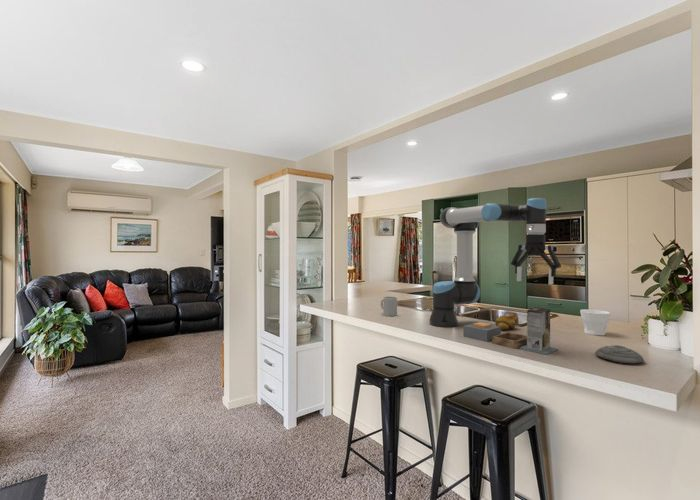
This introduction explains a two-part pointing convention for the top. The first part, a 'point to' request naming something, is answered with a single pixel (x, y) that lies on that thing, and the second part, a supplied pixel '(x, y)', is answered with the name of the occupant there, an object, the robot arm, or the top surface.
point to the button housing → (481, 332)
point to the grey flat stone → (619, 354)
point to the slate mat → (546, 352)
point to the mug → (389, 306)
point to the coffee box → (538, 329)
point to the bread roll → (507, 321)
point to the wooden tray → (504, 340)
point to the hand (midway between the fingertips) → (534, 282)
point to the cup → (595, 321)
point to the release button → (482, 325)
